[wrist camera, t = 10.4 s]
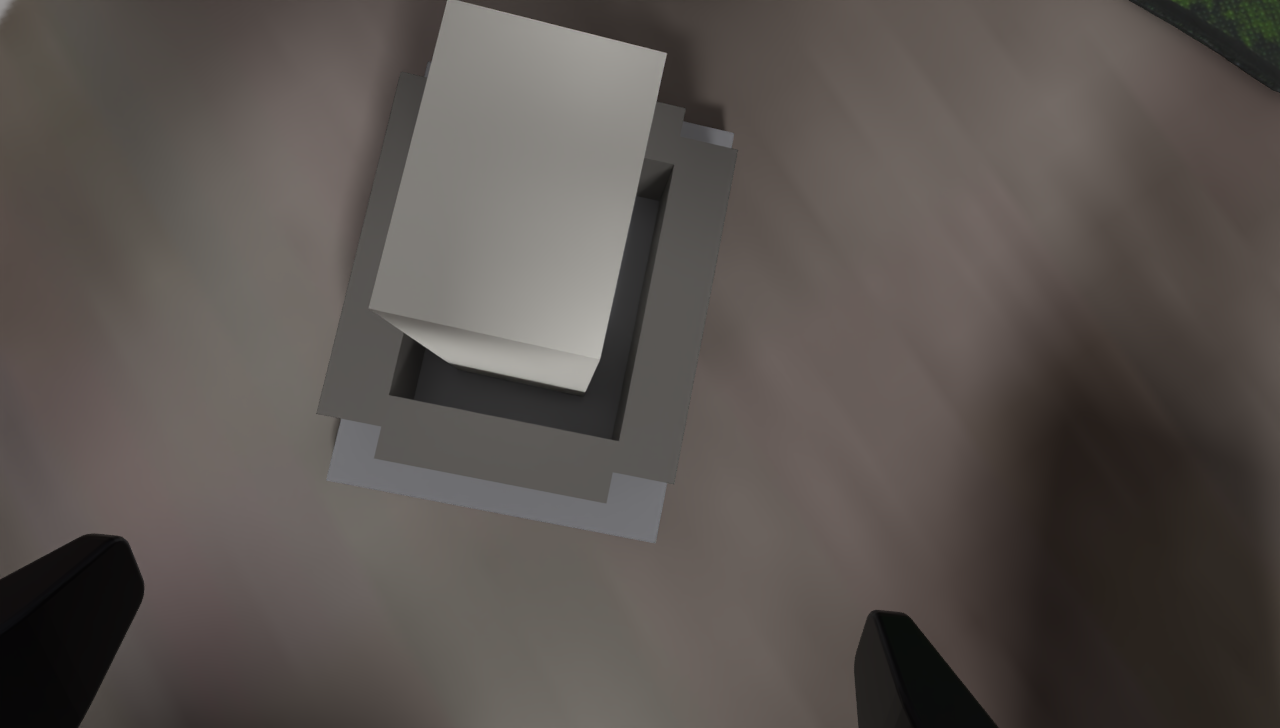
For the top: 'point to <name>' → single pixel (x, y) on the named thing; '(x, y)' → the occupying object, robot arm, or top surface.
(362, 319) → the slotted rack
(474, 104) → the plain light grey box
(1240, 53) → the mouse mat
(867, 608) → the top surface
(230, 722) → the top surface
